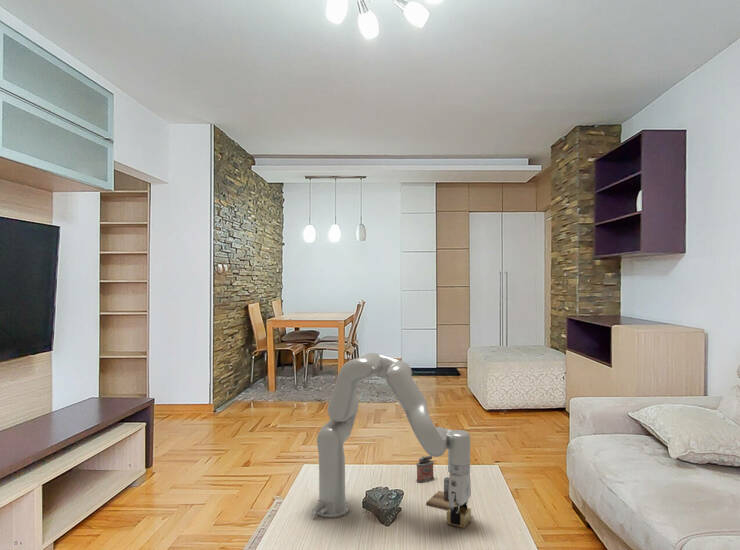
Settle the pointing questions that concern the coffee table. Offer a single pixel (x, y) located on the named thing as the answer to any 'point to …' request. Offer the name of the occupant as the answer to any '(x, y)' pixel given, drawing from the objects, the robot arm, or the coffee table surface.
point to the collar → (461, 516)
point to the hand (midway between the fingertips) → (458, 519)
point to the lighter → (425, 469)
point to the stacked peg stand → (441, 497)
